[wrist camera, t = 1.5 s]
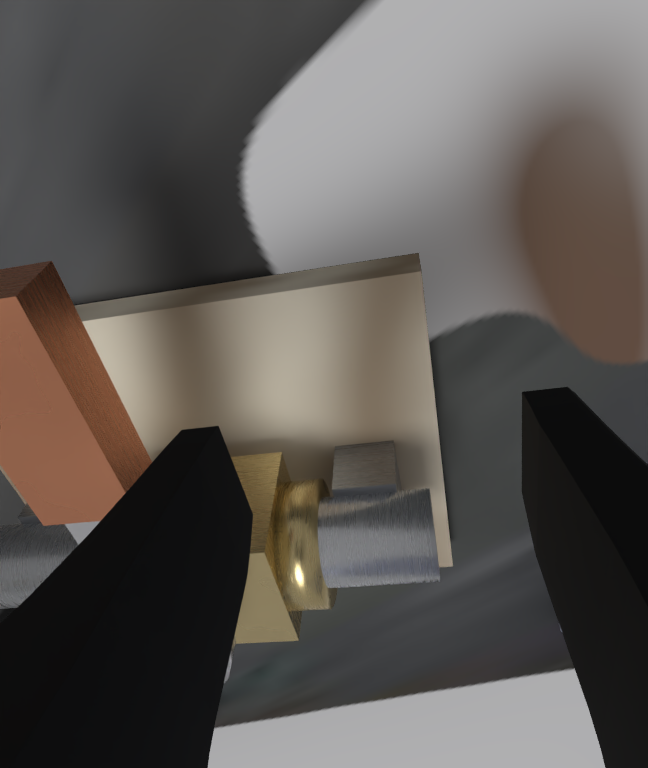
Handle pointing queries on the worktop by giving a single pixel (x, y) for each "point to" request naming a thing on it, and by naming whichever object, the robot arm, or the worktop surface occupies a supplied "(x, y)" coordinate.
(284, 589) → the valve pipe
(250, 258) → the worktop surface
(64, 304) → the valve lever
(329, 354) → the mounting board
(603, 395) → the worktop surface
